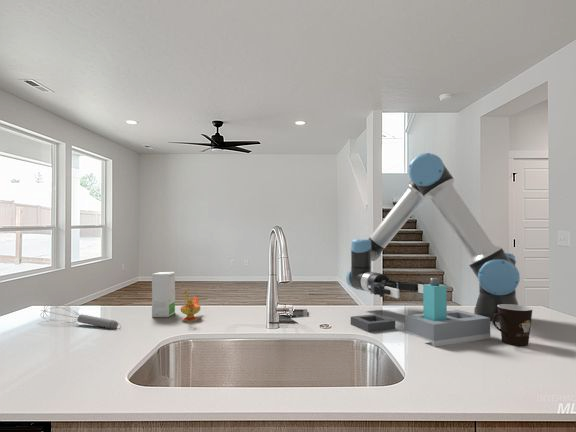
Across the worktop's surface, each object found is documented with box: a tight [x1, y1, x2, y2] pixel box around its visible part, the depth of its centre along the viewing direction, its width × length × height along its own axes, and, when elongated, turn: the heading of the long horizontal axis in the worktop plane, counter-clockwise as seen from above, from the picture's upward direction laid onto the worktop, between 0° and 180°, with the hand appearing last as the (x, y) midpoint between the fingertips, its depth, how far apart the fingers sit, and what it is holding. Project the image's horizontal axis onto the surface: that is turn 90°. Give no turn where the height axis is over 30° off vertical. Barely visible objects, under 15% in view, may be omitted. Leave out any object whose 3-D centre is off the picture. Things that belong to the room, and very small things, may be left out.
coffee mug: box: [492, 304, 533, 347], centre depth 111 cm, size 12×9×10 cm
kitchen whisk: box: [39, 303, 122, 330], centre depth 130 cm, size 6×34×6 cm, turn 70°
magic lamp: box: [180, 290, 201, 322], centre depth 140 cm, size 7×18×11 cm, turn 179°
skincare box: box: [151, 271, 176, 318], centre depth 145 cm, size 8×7×16 cm
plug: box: [422, 277, 448, 321], centre depth 115 cm, size 4×4×16 cm
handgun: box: [279, 308, 308, 324], centre depth 142 cm, size 13×2×18 cm
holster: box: [350, 313, 396, 333], centre depth 124 cm, size 10×10×4 cm
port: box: [404, 309, 491, 348], centre depth 116 cm, size 21×12×6 cm, turn 112°
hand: (416, 292), depth 122 cm, fingers open, 13 cm apart
